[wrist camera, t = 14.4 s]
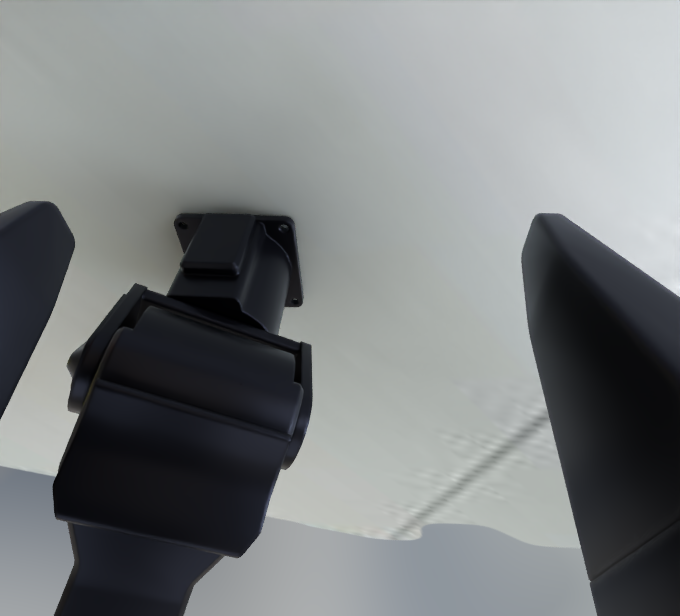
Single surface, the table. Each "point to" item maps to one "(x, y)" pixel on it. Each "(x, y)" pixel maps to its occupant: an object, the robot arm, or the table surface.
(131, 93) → the table surface
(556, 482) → the table surface
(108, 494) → the robot arm
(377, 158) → the table surface
